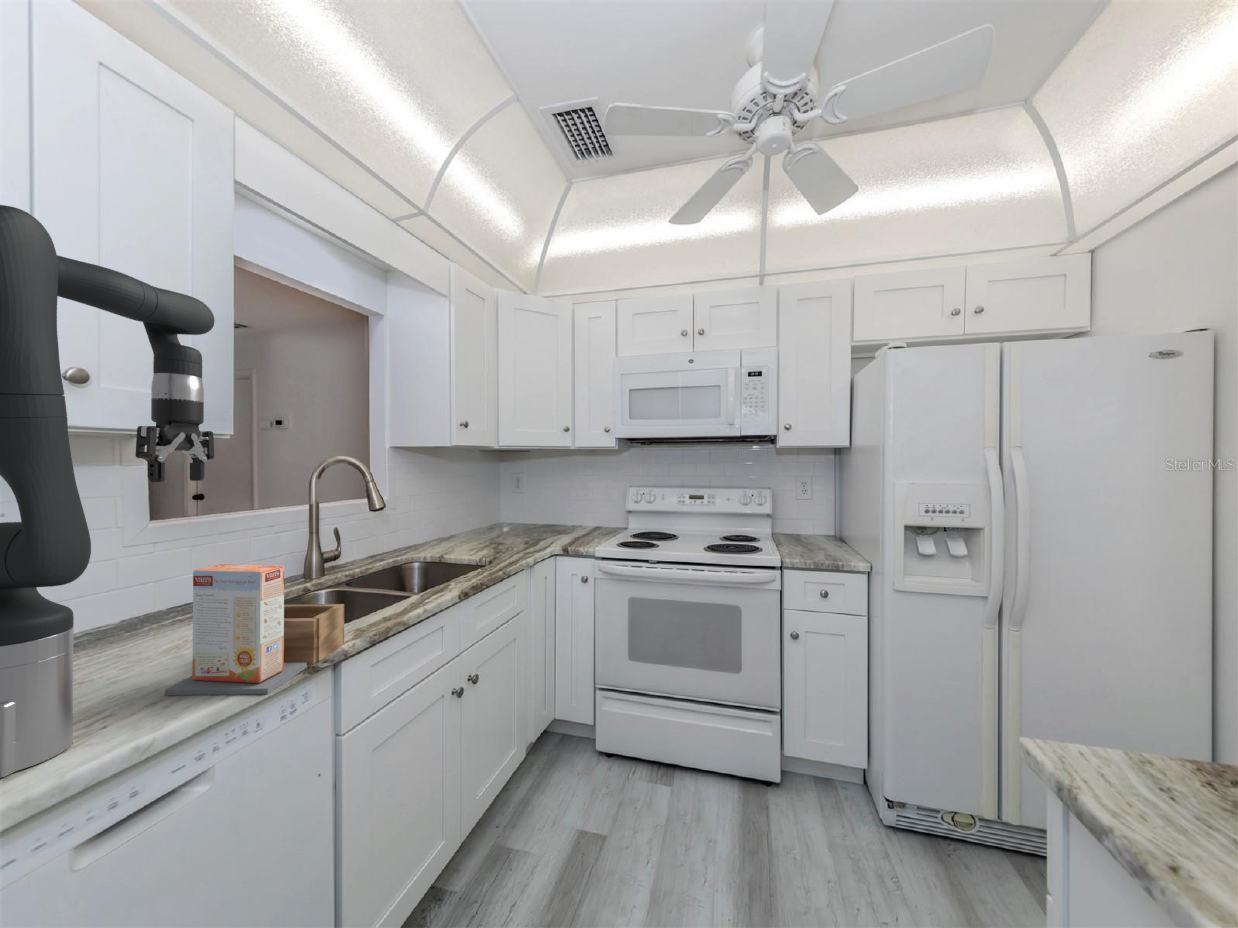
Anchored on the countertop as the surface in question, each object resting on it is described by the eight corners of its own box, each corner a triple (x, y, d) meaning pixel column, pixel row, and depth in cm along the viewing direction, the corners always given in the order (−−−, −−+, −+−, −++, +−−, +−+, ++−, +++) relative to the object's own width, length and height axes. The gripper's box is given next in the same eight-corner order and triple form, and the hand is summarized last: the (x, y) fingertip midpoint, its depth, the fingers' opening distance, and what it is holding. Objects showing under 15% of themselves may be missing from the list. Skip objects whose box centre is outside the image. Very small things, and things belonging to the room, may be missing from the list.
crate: (315, 663, 97) (315, 620, 97) (219, 664, 96) (220, 621, 96) (345, 642, 108) (346, 604, 108) (260, 643, 107) (260, 604, 107)
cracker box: (285, 670, 91) (286, 564, 91) (258, 685, 85) (259, 571, 85) (221, 667, 93) (222, 562, 93) (190, 681, 87) (191, 569, 87)
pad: (267, 694, 84) (267, 688, 84) (164, 695, 83) (164, 689, 83) (306, 667, 95) (306, 662, 95) (215, 668, 94) (216, 663, 94)
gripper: (163, 394, 85) (163, 482, 85) (227, 404, 99) (226, 480, 99) (121, 393, 84) (120, 482, 84) (190, 403, 99) (190, 480, 99)
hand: (177, 481), depth 92 cm, fingers open, 8 cm apart
